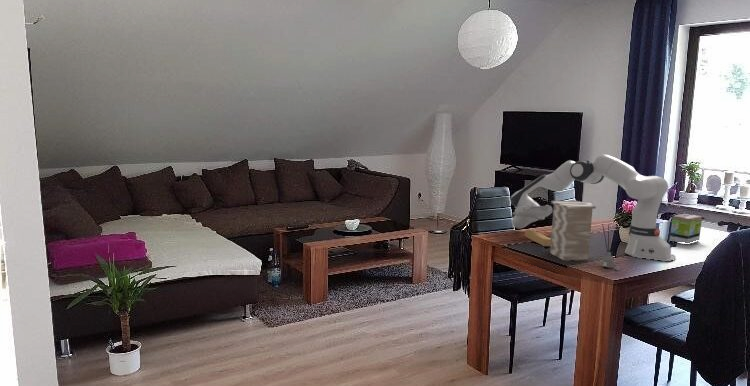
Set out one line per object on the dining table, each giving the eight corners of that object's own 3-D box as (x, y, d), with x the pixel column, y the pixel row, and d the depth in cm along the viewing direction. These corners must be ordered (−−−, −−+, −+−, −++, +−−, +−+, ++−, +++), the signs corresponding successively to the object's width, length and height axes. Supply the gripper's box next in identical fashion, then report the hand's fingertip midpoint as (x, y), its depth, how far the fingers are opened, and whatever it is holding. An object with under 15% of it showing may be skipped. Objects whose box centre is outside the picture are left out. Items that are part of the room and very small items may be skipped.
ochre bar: (524, 237, 310) (525, 230, 310) (531, 236, 311) (532, 229, 311) (544, 246, 289) (544, 239, 288) (551, 246, 290) (551, 239, 289)
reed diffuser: (595, 266, 254) (599, 223, 251) (603, 263, 258) (607, 221, 255) (616, 271, 246) (621, 227, 243) (624, 269, 250) (628, 225, 247)
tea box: (688, 245, 298) (691, 218, 296) (668, 242, 306) (671, 215, 303) (699, 242, 308) (702, 215, 305) (680, 238, 315) (683, 212, 313)
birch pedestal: (547, 252, 276) (551, 200, 272) (573, 251, 279) (577, 200, 275) (564, 261, 261) (568, 206, 257) (591, 260, 263) (595, 206, 259)
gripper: (510, 209, 310) (520, 200, 297) (544, 208, 314) (555, 200, 301) (512, 220, 308) (522, 211, 295) (546, 219, 311) (558, 211, 299)
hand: (539, 206), depth 298 cm, fingers open, 8 cm apart
